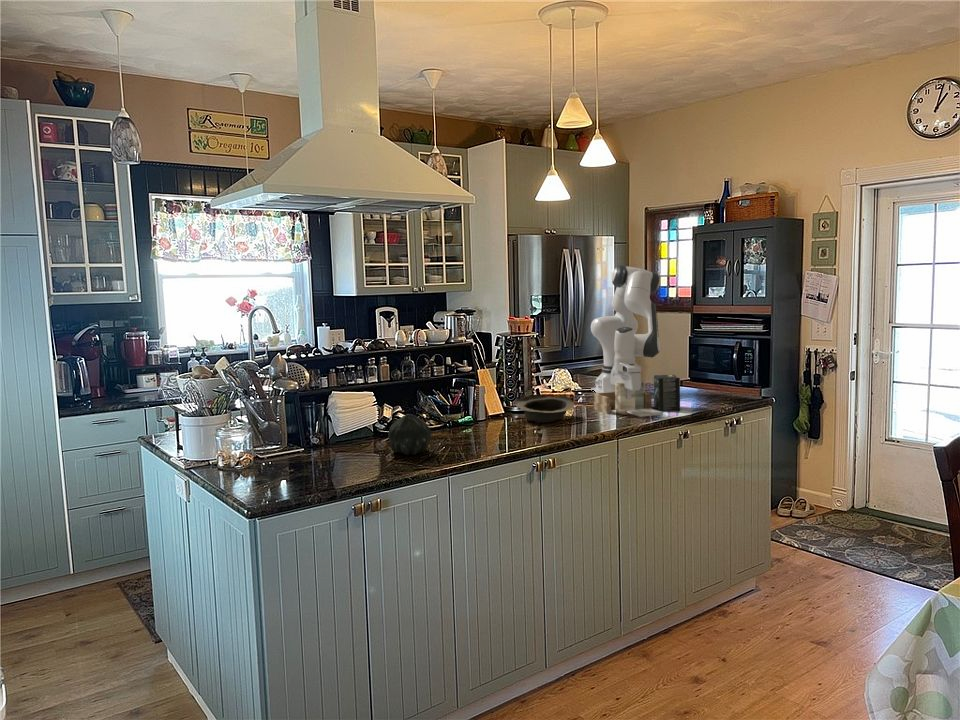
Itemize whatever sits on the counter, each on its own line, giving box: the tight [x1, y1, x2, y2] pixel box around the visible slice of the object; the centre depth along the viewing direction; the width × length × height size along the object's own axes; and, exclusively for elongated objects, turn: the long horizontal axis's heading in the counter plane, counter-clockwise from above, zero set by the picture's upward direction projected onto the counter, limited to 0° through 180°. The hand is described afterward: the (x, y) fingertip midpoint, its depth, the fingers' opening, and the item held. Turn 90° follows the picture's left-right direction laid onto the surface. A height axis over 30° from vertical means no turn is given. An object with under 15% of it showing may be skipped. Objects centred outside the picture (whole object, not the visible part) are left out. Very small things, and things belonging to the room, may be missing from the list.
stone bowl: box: [514, 393, 575, 424], centre depth 305 cm, size 25×25×9 cm
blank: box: [614, 382, 635, 412], centre depth 308 cm, size 4×7×12 cm, turn 108°
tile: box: [626, 407, 664, 418], centre depth 311 cm, size 11×11×1 cm
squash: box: [387, 413, 432, 456], centre depth 254 cm, size 14×15×15 cm
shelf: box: [592, 381, 652, 415], centre depth 321 cm, size 13×22×12 cm, turn 107°
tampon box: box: [653, 374, 681, 412], centre depth 319 cm, size 11×9×15 cm
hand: (625, 398), depth 308 cm, fingers closed on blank, 4 cm apart
